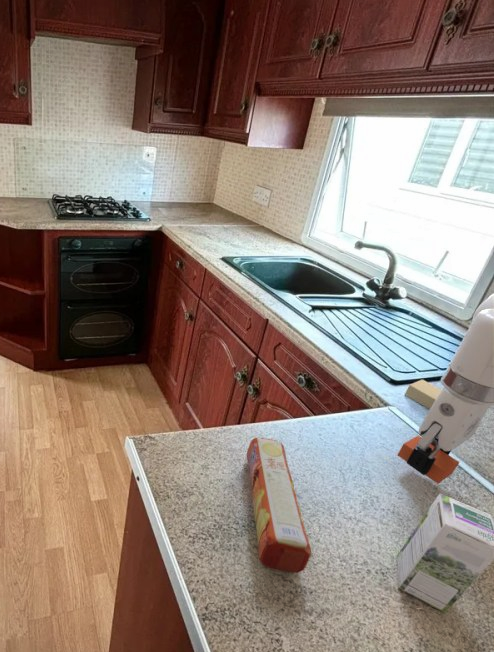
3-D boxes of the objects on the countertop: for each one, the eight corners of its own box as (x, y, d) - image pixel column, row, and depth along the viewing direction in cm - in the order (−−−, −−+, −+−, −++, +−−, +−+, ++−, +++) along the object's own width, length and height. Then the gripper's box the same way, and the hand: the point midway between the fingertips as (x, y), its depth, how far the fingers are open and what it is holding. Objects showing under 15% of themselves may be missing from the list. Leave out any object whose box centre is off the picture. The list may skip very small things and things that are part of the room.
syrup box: (440, 577, 58) (492, 511, 52) (446, 616, 54) (503, 549, 47) (395, 555, 61) (439, 489, 54) (397, 590, 56) (445, 523, 50)
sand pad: (452, 408, 96) (458, 398, 94) (439, 415, 93) (445, 405, 92) (417, 388, 102) (422, 379, 101) (404, 394, 99) (409, 384, 98)
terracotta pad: (451, 474, 72) (459, 462, 71) (437, 484, 70) (445, 471, 68) (411, 446, 77) (418, 435, 76) (397, 455, 75) (403, 443, 74)
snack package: (242, 456, 76) (251, 429, 73) (278, 464, 75) (289, 437, 72) (254, 569, 57) (267, 539, 54) (303, 581, 56) (318, 551, 53)
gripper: (474, 412, 58) (421, 497, 67) (522, 383, 66) (470, 462, 75) (420, 382, 64) (377, 464, 72) (470, 359, 72) (427, 435, 80)
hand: (425, 462), depth 73 cm, fingers closed on terracotta pad, 5 cm apart
